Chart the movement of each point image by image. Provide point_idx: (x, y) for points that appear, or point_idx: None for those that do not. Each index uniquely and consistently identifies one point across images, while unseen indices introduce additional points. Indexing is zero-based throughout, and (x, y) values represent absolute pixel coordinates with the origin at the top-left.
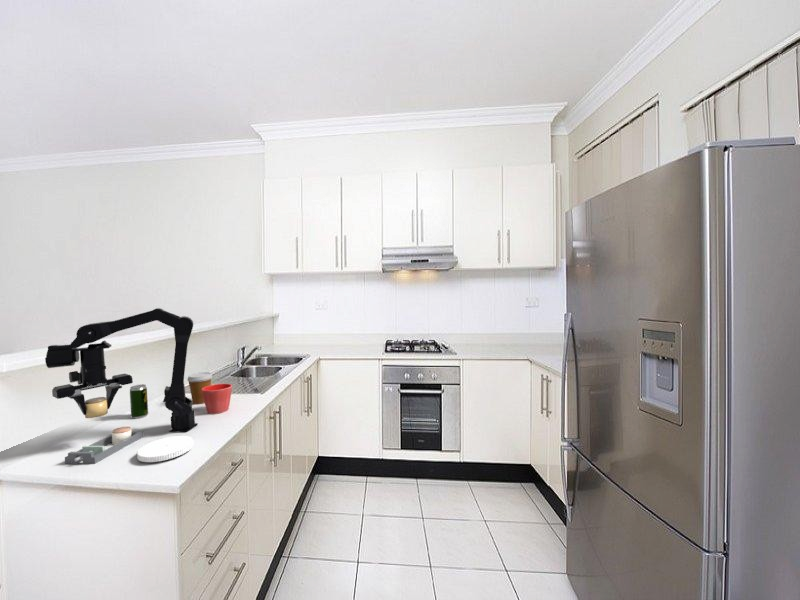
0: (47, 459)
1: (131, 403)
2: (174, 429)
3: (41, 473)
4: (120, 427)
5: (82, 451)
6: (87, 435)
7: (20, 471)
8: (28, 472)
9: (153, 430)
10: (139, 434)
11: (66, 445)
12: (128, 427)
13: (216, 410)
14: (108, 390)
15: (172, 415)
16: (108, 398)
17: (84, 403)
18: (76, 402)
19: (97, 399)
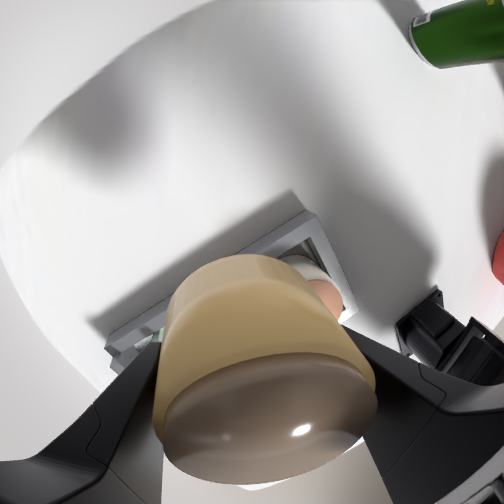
0: (62, 239)
1: (455, 22)
2: (407, 328)
3: (65, 347)
4: (319, 286)
5: (152, 337)
6: (230, 50)
7: (17, 280)
8: (35, 309)
9: (393, 261)
10: (340, 320)
11: (130, 115)
12: (336, 310)
13: (498, 279)
14: (427, 473)
15: (436, 347)
16: (371, 425)
17: (156, 484)
18: (71, 430)
19: (287, 454)
